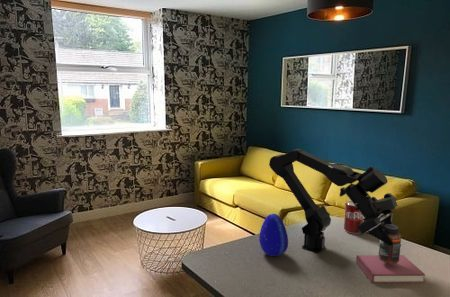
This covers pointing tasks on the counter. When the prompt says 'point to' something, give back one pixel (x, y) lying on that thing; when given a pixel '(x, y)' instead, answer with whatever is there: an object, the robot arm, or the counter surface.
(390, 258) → the supplement bottle
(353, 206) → the soda can
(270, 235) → the ornament
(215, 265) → the counter surface
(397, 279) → the hardcover book
